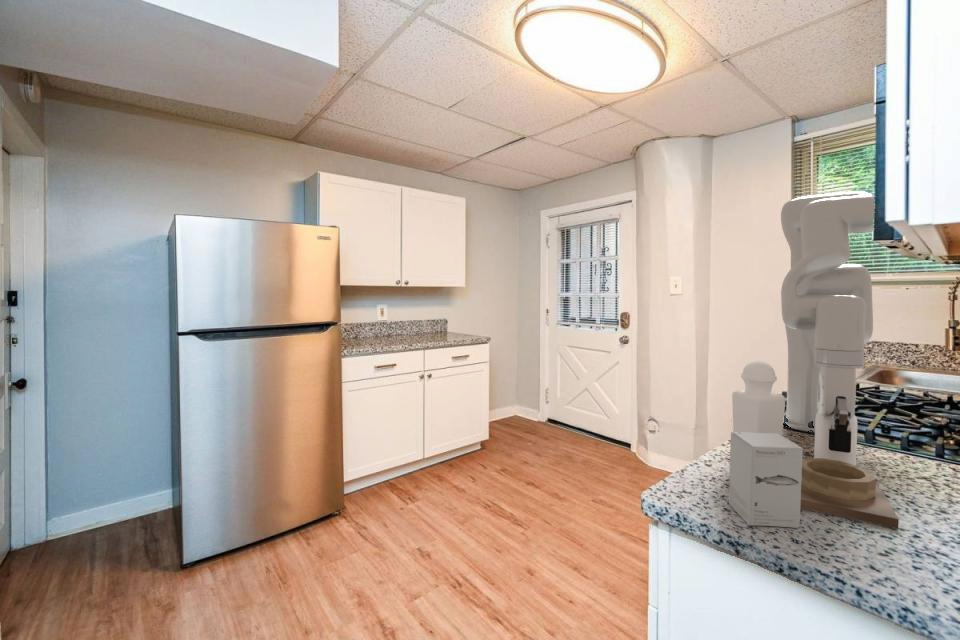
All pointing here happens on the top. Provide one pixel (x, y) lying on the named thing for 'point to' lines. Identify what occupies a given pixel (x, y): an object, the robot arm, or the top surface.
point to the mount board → (844, 492)
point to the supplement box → (765, 479)
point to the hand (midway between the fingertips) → (835, 443)
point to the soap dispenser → (758, 401)
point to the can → (823, 441)
